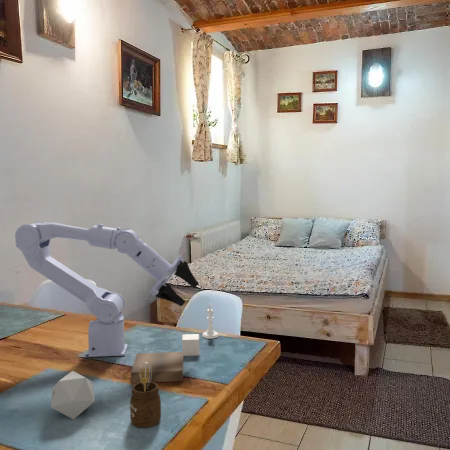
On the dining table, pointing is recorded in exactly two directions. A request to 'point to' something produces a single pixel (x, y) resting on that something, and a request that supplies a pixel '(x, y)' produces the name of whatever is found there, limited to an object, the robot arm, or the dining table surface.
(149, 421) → the utensil holder
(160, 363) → the walnut block
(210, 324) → the chess piece
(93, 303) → the robot arm
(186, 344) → the white cube
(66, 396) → the die
